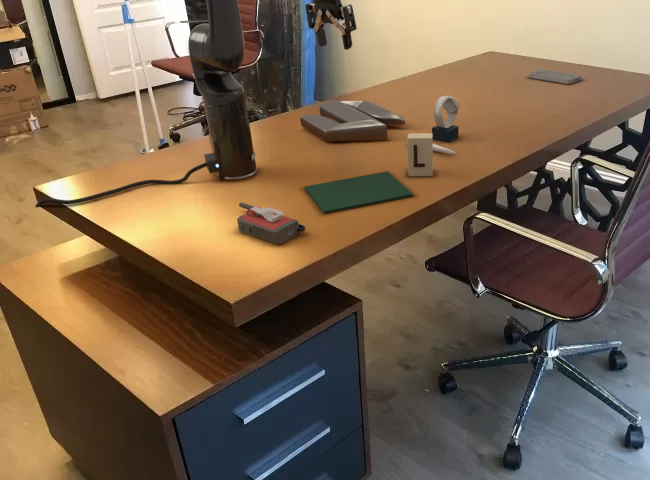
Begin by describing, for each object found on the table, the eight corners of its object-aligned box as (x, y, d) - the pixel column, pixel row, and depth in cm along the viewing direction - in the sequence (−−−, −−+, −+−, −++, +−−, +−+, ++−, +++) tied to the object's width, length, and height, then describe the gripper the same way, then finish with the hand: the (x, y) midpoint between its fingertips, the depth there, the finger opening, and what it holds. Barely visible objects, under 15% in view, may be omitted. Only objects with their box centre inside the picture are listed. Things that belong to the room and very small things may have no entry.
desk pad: (323, 213, 135) (323, 211, 134) (304, 188, 147) (304, 186, 146) (412, 196, 141) (412, 193, 141) (387, 173, 153) (387, 171, 152)
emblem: (419, 101, 185) (370, 129, 164) (419, 120, 187) (371, 150, 167) (335, 92, 196) (279, 117, 175) (337, 110, 199) (282, 137, 178)
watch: (462, 135, 174) (462, 94, 168) (446, 144, 169) (446, 101, 163) (444, 132, 177) (444, 91, 171) (428, 141, 172) (427, 98, 166)
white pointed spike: (406, 145, 168) (406, 138, 167) (413, 143, 170) (413, 136, 169) (452, 158, 160) (452, 150, 159) (459, 155, 161) (459, 147, 160)
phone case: (569, 84, 214) (569, 80, 214) (527, 77, 224) (528, 73, 223) (581, 79, 219) (582, 75, 219) (541, 72, 229) (541, 69, 228)
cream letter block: (408, 176, 151) (407, 138, 146) (409, 170, 154) (408, 133, 149) (432, 176, 150) (431, 138, 146) (432, 170, 153) (432, 133, 149)
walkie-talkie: (314, 230, 128) (244, 208, 139) (311, 210, 126) (241, 188, 136) (282, 248, 122) (212, 223, 133) (278, 226, 120) (208, 203, 130)
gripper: (291, -19, 159) (305, 49, 169) (335, -16, 151) (347, 54, 161) (312, -27, 163) (325, 40, 173) (355, -25, 156) (366, 44, 166)
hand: (335, 47), depth 167 cm, fingers open, 8 cm apart
